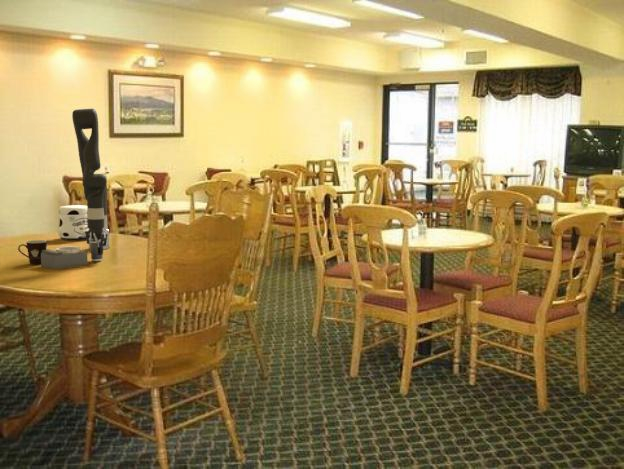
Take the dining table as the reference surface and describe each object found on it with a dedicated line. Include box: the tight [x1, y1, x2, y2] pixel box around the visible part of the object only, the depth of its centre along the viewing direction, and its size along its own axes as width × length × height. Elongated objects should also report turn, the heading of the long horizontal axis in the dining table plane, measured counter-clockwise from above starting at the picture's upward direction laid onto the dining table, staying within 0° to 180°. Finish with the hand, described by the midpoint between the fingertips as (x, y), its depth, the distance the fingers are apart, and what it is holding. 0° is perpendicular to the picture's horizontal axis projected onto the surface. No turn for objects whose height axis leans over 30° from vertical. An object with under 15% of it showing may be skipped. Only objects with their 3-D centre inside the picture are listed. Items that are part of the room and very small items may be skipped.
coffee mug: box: [17, 239, 48, 266], centre depth 319 cm, size 12×9×10 cm
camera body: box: [40, 246, 88, 270], centre depth 315 cm, size 16×11×8 cm
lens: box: [90, 240, 104, 262], centre depth 327 cm, size 5×5×9 cm
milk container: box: [57, 204, 89, 241], centre depth 389 cm, size 17×17×18 cm
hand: (96, 254), depth 327 cm, fingers closed on lens, 5 cm apart
